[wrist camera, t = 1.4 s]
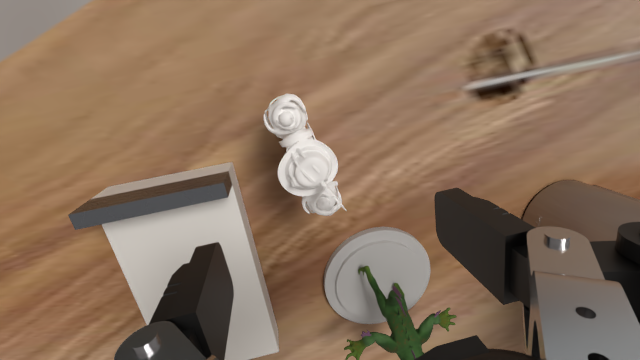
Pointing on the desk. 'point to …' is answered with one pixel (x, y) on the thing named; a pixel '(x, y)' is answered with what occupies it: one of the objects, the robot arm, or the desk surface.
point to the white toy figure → (304, 157)
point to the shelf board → (178, 247)
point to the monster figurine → (382, 289)
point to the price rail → (151, 200)
